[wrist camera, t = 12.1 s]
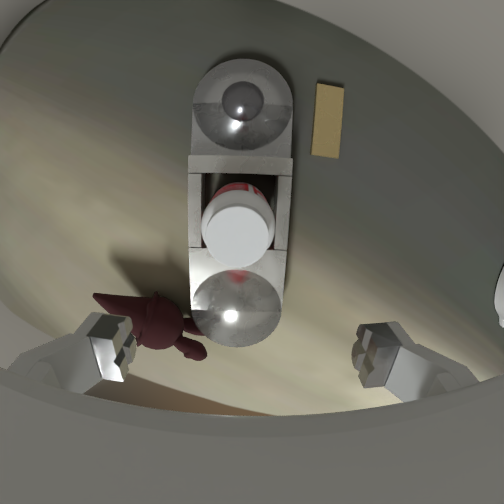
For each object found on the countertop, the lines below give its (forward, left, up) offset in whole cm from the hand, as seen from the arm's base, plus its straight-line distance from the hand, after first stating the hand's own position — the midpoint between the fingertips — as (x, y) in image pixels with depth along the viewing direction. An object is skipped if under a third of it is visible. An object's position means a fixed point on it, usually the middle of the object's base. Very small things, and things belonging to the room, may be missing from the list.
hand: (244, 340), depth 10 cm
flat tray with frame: (+1, 0, -23) cm, 23 cm away
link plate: (-8, -10, -24) cm, 27 cm away
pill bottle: (+1, 0, -23) cm, 23 cm away
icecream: (+11, +12, -23) cm, 28 cm away
